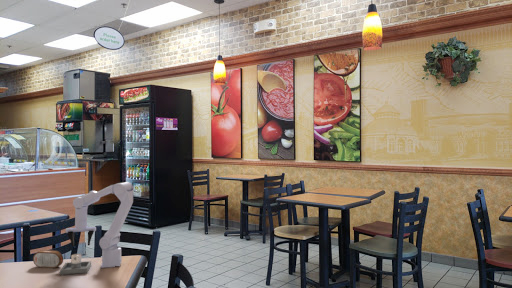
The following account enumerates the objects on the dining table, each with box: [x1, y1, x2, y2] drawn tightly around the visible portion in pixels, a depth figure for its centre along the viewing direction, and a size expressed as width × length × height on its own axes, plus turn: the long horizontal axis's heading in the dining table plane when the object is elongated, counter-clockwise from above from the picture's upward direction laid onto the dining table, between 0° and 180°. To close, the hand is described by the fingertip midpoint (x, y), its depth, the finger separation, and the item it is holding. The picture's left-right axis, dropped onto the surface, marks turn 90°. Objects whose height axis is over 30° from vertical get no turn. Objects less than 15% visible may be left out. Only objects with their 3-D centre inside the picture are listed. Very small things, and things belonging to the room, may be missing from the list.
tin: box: [32, 249, 64, 269], centre depth 196 cm, size 15×3×8 cm, turn 84°
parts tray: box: [59, 260, 92, 276], centre depth 191 cm, size 12×12×2 cm
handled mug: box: [70, 253, 82, 269], centre depth 190 cm, size 4×6×7 cm
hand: (80, 245), depth 202 cm, fingers open, 7 cm apart
